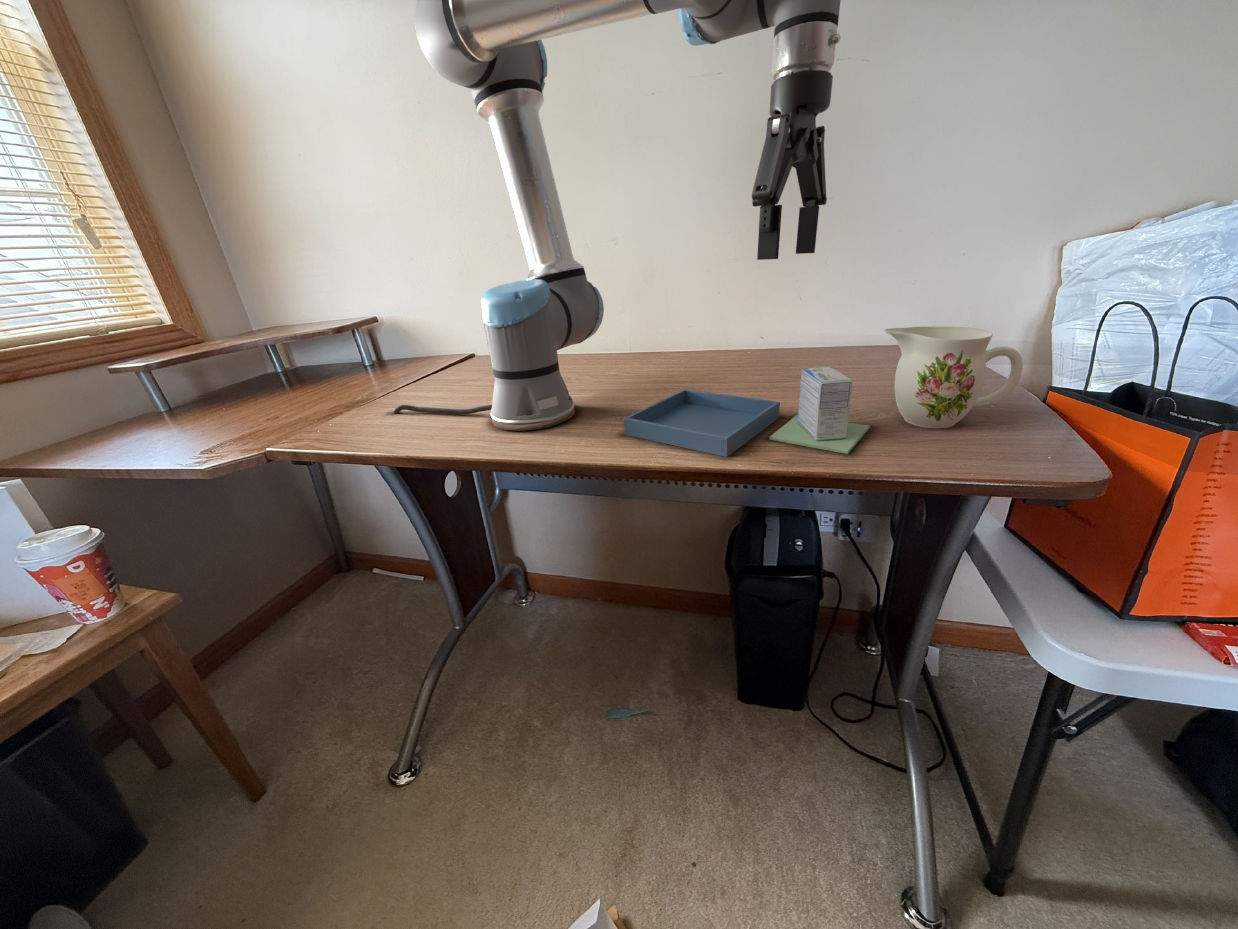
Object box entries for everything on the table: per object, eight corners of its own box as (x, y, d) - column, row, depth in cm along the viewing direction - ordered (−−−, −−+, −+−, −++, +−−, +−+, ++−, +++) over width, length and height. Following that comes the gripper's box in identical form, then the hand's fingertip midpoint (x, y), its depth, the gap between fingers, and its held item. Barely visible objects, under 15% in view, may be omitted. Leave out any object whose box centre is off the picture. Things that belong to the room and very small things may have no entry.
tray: (624, 434, 77) (623, 418, 76) (684, 403, 90) (684, 388, 88) (727, 457, 66) (727, 438, 65) (778, 417, 79) (780, 401, 78)
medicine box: (846, 439, 67) (854, 379, 64) (814, 441, 67) (820, 382, 64) (825, 421, 74) (831, 366, 71) (796, 423, 75) (800, 368, 71)
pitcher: (1023, 436, 65) (1054, 333, 59) (877, 432, 70) (892, 337, 64) (991, 410, 75) (1015, 319, 69) (864, 408, 80) (877, 323, 74)
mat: (769, 439, 71) (769, 436, 70) (796, 417, 78) (796, 414, 78) (847, 454, 64) (848, 450, 64) (869, 428, 72) (869, 425, 71)
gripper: (791, 45, 51) (776, 261, 60) (861, 86, 68) (841, 250, 76) (728, 64, 55) (722, 263, 64) (808, 99, 72) (795, 252, 81)
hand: (787, 256), depth 70 cm, fingers open, 13 cm apart
